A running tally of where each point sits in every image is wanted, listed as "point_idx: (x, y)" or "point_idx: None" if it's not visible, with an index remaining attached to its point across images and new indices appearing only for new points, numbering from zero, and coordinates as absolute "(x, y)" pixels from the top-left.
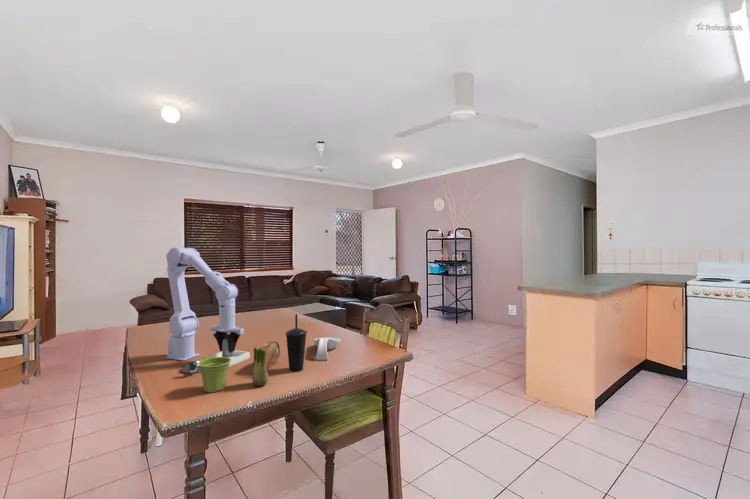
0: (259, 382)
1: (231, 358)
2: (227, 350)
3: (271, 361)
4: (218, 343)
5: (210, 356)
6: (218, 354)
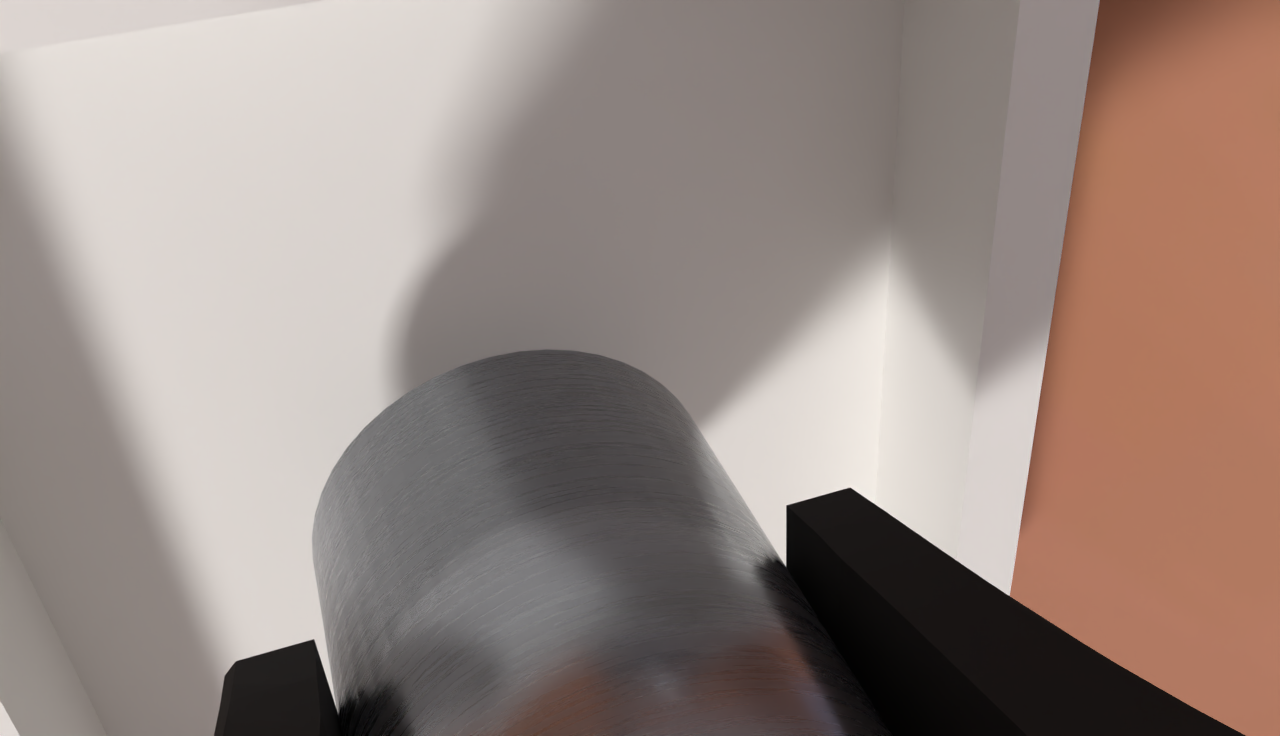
0: None
1: None
2: (406, 657)
3: None
4: (1107, 700)
5: (1006, 95)
6: (948, 427)
